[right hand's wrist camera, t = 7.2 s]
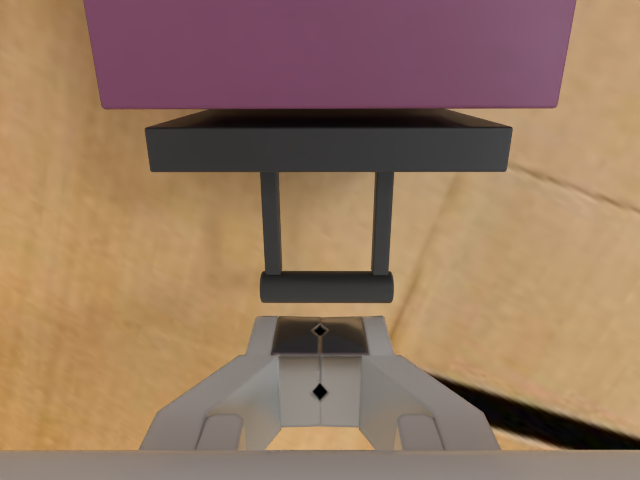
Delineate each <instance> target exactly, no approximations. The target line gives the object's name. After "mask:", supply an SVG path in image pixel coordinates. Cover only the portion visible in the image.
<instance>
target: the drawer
mask: <svg viewBox="0 0 640 480" xmlns="http://www.w3.org/2000/svg"><path fill="white" fill-rule="evenodd" d="M512 130H513V129H512V127H509V126H506V125H502V124H498V123H495V122H491V121H487V120H484V119H480V118H476V117H473V116H469V115H465V114H462V113H458V112H454V111H451V110H447V109H209V110H205V111H202V112H198V113H195V114H191V115H188V116H185V117H181V118H178V119H174V120H171V121H167V122H164V123H160V124H157V125H153V126H150V127H147V128H145V135H146V142H147V149H148V157H149V164H150V170H151V172H260V178H261V198H262V217H263V236H264V256H265V271H263V272H262V274H261V278H260V298H261V301H262V302H263V303H391V302H392V300H393V294H394V283H393V276H392V273H391V272H390V271H388V268H389V250H390V233H391V216H392V198H393V181H394V172H505V171H506V170H507V163H508V157H509V150H510V143H511V137H512ZM279 172H375V190H374V214H373V237H372V261H371V270H372V271H282V252H281V225H280V198H279Z"/></svg>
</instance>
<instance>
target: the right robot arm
mask: <svg viewBox="0 0 640 480" xmlns="http://www.w3.org/2000/svg"><path fill="white" fill-rule="evenodd" d="M311 426H328V427H359V430H360V431H361V432H362V433H363V435H364V436H365V437H366V439H367V440H368V441H369V442H370V444H371V445H372V446H373V447H374V449H375V450H265V449H266V448H267V446H268V445H269V444H270V443H271V441H272V440H273V439H274V438H275V436H276V435H277V434H278V433H279V431H280V430H281V427H311ZM0 480H640V450H501V448H500V446H499V444H498V442H497V440H496V438H495V436H494V434H493V432H492V429H491V427H490V425H489V423H488V421H487V419H486V417H485V415H484V413H483V412H482V411H480V410H479V409H477V408H476V407H474V406H473V405H472V404H470V403H469V402H467V401H466V400H464V399H463V398H462V397H460V396H459V395H457V394H456V393H454V392H453V391H451V390H450V389H449V388H447V387H446V386H444V385H443V384H441V383H440V382H438V381H437V380H436V379H434V378H433V377H431V376H430V375H428V374H427V373H426V372H424V371H423V370H421V369H420V368H418V367H417V366H415V365H414V364H413V363H411V362H410V361H408V360H407V359H405V358H404V357H403V356H401V355H395V354H394V351H393V347H392V343H391V340H390V336H389V332H388V329H387V325H386V321H385V318H384V317H383V316H367V317H362V316H361V317H286V316H279V317H277V316H257V317H256V318H255V321H254V325H253V328H252V332H251V336H250V339H249V343H248V347H247V350H246V354H245V355H239V356H237V357H236V358H235V359H233V360H232V361H230V362H229V363H227V364H226V365H224V366H223V367H222V368H220V369H219V370H217V371H216V372H214V373H213V374H211V375H210V376H209V377H207V378H206V379H204V380H203V381H201V382H200V383H198V384H197V385H196V386H194V387H193V388H191V389H190V390H188V391H187V392H185V393H184V394H183V395H181V396H180V397H178V398H177V399H175V400H174V401H172V402H171V403H170V404H168V405H167V406H165V407H164V408H162V409H161V410H159V411H158V412H157V413H156V415H155V418H154V420H153V422H152V424H151V426H150V428H149V430H148V432H147V434H146V436H145V438H144V440H143V442H142V444H141V446H140V448H139V450H0Z"/></svg>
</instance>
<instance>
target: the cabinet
mask: <svg viewBox="0 0 640 480" xmlns="http://www.w3.org/2000/svg"><path fill="white" fill-rule="evenodd" d="M575 5H576V0H84V6H85V12H86V18H87V24H88V29H89V35H90V41H91V47H92V53H93V59H94V64H95V70H96V76H97V82H98V88H99V94H100V99H101V105H102V108H104V109H445V108H555V107H556V106H557V104H558V99H559V93H560V87H561V82H562V76H563V71H564V65H565V60H566V54H567V49H568V43H569V38H570V32H571V27H572V21H573V16H574V10H575Z"/></svg>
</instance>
